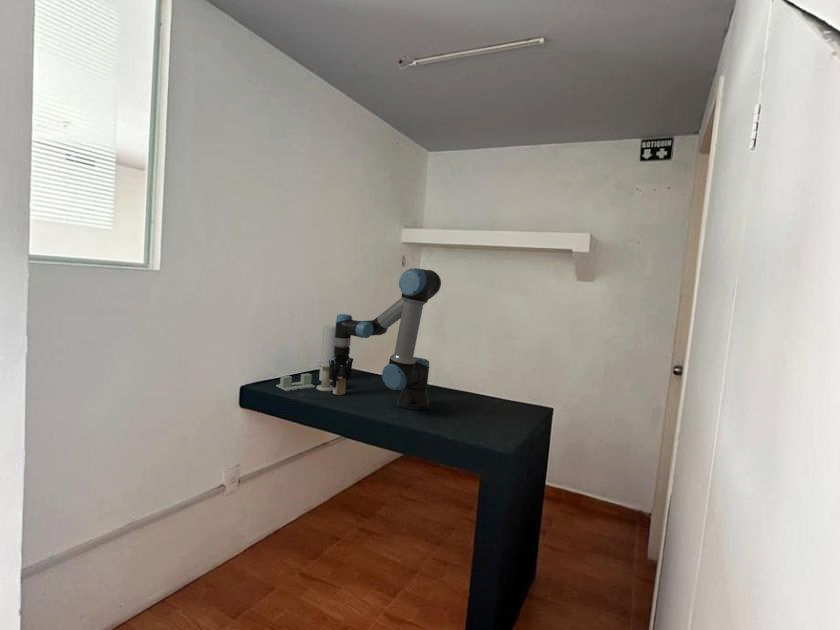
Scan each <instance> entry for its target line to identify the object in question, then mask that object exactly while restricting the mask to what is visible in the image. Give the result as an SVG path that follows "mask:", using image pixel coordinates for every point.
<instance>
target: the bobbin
mask: <svg viewBox="0 0 840 630" xmlns="http://www.w3.org/2000/svg"><path fill="white" fill-rule="evenodd" d="M334 365H335V363H334ZM317 366H318V367H319V368H320V367H323V370H322V381H321V384H320V385H319V384H318V385H317V386H316V390H318V391H320V392H333V387H332V384H331V383H332V382H331V380H330V379H329V366H330V364H329V362H321V361H320V362H318V365H317Z"/></svg>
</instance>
